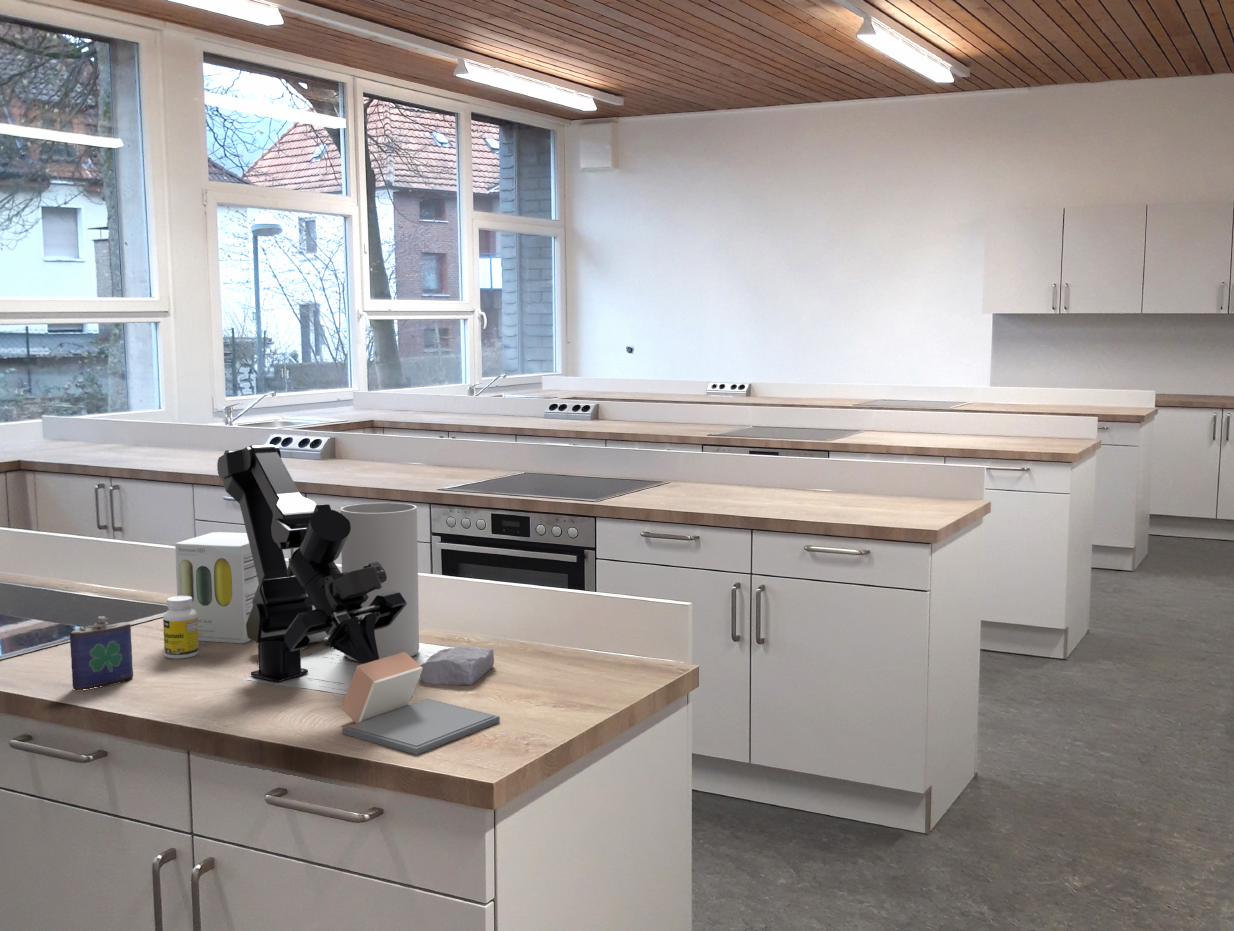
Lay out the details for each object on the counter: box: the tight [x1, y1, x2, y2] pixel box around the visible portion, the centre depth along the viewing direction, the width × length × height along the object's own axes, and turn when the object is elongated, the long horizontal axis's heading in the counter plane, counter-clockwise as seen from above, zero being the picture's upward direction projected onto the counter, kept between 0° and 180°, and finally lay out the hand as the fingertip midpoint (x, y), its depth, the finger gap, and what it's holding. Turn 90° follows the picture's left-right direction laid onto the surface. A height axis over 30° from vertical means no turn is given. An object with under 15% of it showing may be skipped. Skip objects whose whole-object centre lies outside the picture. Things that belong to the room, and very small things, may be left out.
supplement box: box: [174, 531, 259, 644], centre depth 211 cm, size 13×13×18 cm
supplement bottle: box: [162, 595, 200, 660], centre depth 196 cm, size 5×5×10 cm
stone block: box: [419, 645, 495, 686], centre depth 186 cm, size 12×5×10 cm
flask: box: [69, 615, 134, 691], centre depth 180 cm, size 9×3×11 cm, turn 138°
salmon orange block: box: [340, 652, 423, 724], centre depth 164 cm, size 4×9×8 cm, turn 144°
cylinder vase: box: [339, 502, 420, 662], centre depth 196 cm, size 12×12×25 cm
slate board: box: [342, 698, 501, 756], centre depth 160 cm, size 14×16×1 cm
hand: (376, 667), depth 164 cm, fingers closed
